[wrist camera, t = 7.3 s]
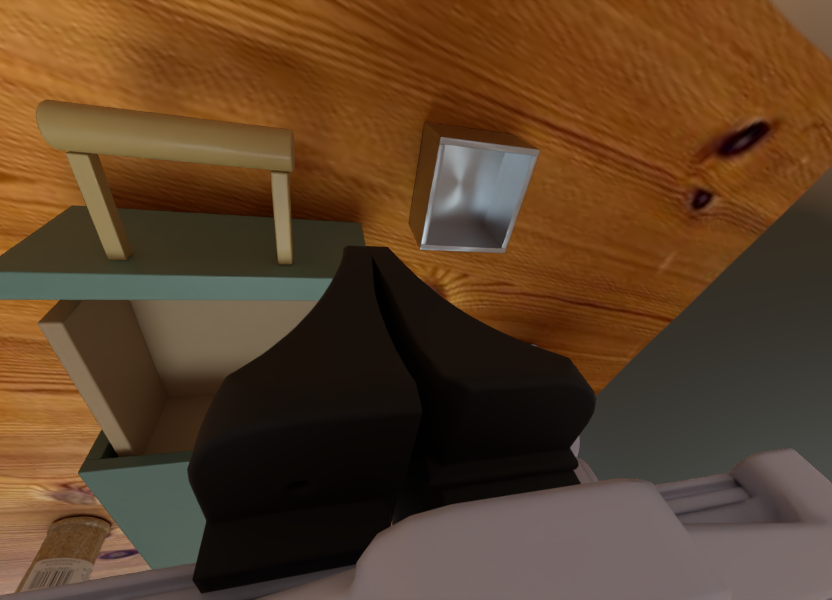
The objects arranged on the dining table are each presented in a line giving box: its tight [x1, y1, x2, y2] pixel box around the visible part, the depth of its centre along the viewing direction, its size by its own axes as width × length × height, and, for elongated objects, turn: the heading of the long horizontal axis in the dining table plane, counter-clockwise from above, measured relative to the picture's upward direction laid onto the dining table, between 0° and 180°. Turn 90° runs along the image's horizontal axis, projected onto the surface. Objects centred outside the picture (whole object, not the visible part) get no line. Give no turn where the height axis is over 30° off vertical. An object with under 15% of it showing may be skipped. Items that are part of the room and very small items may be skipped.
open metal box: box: [409, 122, 540, 253], centre depth 19 cm, size 5×6×3 cm
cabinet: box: [78, 430, 206, 570], centre depth 26 cm, size 14×14×7 cm
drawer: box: [0, 100, 365, 457], centre depth 18 cm, size 19×13×6 cm
